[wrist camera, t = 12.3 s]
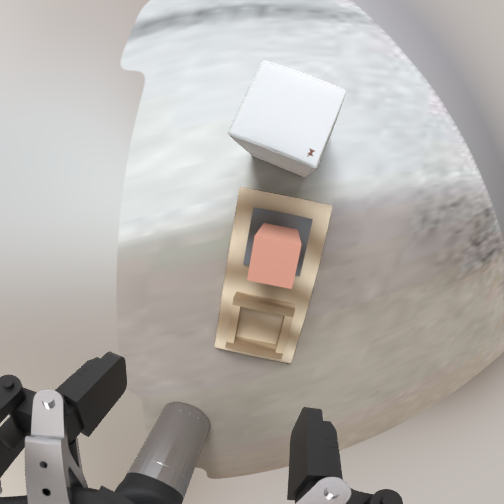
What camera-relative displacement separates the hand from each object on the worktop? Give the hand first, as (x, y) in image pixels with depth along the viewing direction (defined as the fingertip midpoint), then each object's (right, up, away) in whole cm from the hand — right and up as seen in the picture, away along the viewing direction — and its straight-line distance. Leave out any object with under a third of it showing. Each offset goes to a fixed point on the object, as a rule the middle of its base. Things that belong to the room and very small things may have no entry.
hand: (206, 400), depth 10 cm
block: (+5, +7, +22) cm, 23 cm away
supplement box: (+6, +20, +20) cm, 29 cm away
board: (+4, +2, +24) cm, 25 cm away
